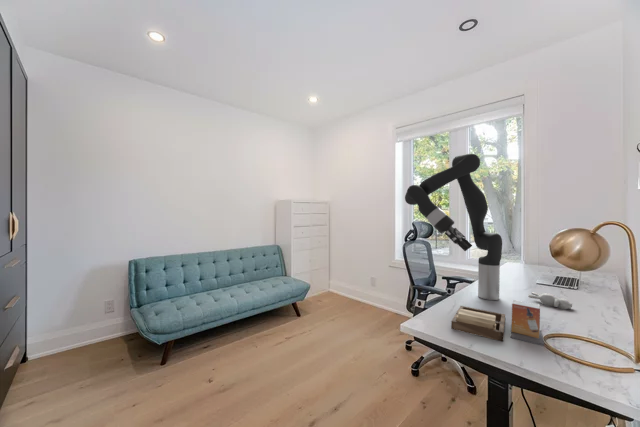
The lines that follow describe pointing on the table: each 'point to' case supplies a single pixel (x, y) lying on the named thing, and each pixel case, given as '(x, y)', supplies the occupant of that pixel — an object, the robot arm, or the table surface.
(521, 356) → the table surface
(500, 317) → the walnut rack
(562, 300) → the bunny figurine
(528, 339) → the charcoal mat
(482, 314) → the offcut stack
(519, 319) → the small box
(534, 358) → the table surface
